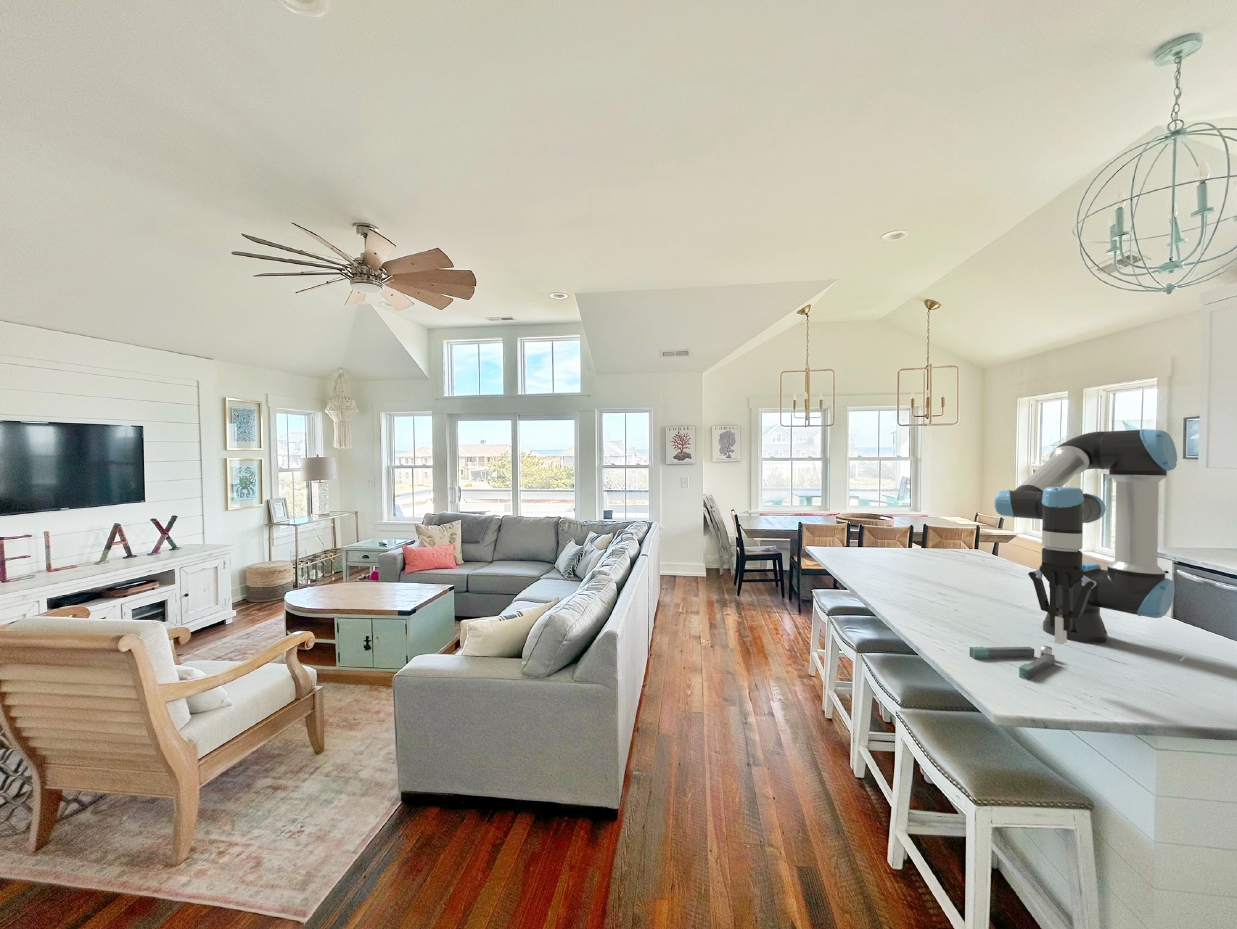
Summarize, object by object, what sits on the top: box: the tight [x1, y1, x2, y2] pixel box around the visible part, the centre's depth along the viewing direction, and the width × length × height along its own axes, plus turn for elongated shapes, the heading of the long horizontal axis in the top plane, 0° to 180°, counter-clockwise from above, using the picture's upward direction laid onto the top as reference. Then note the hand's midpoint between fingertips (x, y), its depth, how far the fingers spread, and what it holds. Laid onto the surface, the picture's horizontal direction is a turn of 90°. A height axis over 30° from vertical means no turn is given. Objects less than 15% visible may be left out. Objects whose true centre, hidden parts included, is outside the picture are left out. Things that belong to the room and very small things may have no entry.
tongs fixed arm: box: [969, 645, 1053, 660], centre depth 137 cm, size 21×4×3 cm, turn 91°
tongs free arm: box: [1018, 653, 1056, 680], centre depth 129 cm, size 18×2×3 cm, turn 121°
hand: (1060, 642), depth 122 cm, fingers closed
